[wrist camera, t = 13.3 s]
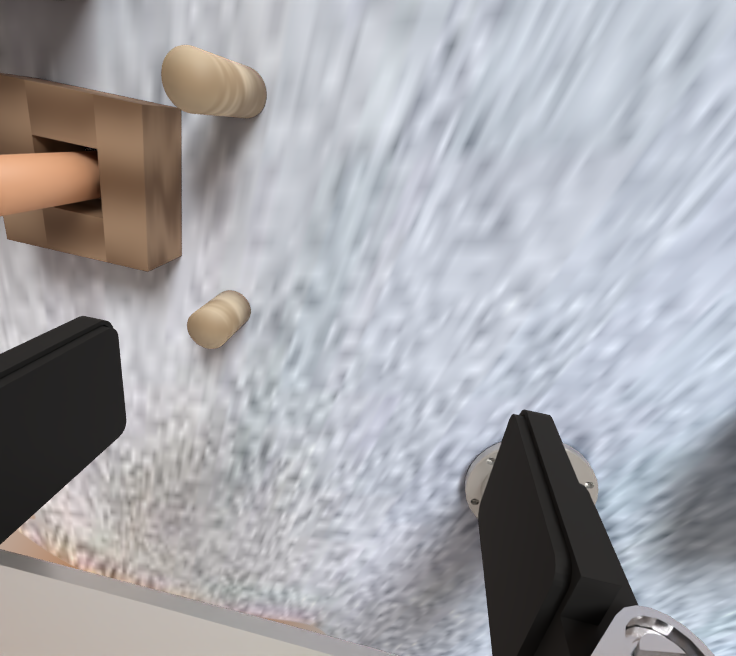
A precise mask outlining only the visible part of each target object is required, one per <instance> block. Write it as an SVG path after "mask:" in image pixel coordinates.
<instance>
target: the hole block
mask: <svg viewBox="0 0 736 656" xmlns="http://www.w3.org/2000/svg"><path fill="white" fill-rule="evenodd" d="M84 146H86V147H91V148H96V149H97V151H98V163H99V175H100V188H101V199H99V198H97V199H92V200H86V201H81V202H76V203H70V204H65V205H59V206H54V207H48V208H43V209H38V210H32V211H27V212H21V213H16V214H11V215H5V216H3V218H4V223H5V229H6V234H7V239H9V240H13V241H17V242H22V243H26V244H30V245H35V246H39V247H43V248H48V249H52V250H56V251H61V252H65V253H69V254H74V255H78V256H82V257H87V258H91V259H95V260H100V261H104V262H108V263H113V264H117V265H121V266H126V267H130V268H134V269H139V270H143V271H147V272H148V271H151V270H153V269H155V268H157V267H159V266H161V265H163V264H165V263H167V262H169V261H172V260H174V259H176V258H178V257H180V256H182V215H181V109H179V108H176V107H172V106H167V105H162V104H157V103H153V102H148V101H143V100H138V99H134V98H129V97H124V96H119V95H115V94H110V93H105V92H100V91H96V90H91V89H86V88H81V87H77V86H72V85H67V84H62V83H58V82H53V81H48V80H43V79H39V78H32V77H25V76H18V75H11V74H4V73H0V155H7V154H30V153H54V152H78V151H85V148H84Z"/></svg>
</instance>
